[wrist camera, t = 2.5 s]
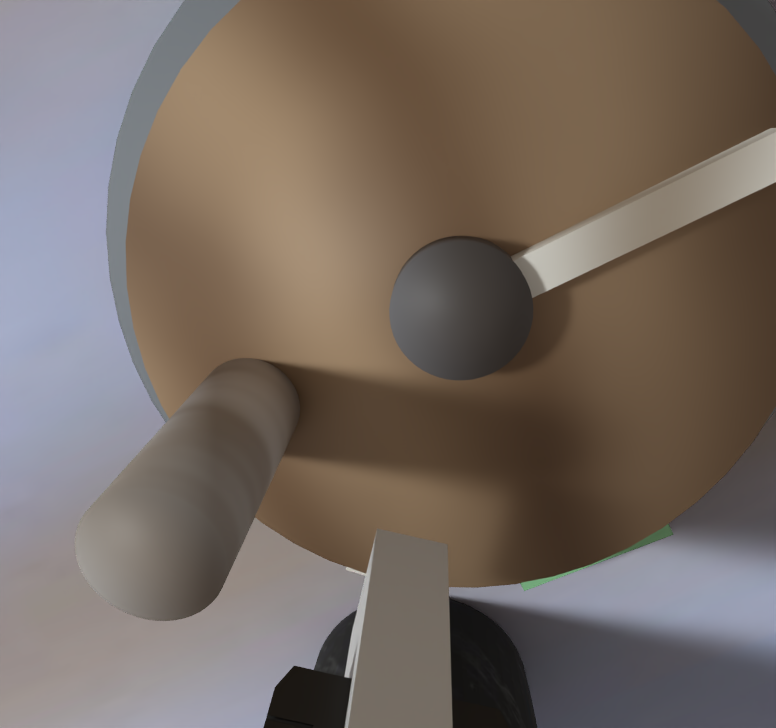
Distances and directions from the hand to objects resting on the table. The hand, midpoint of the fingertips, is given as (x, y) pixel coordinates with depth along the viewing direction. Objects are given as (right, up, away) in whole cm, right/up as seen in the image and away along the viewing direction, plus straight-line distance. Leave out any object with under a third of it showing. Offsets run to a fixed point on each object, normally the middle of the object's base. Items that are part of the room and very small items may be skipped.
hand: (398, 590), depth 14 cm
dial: (+2, +7, +3) cm, 7 cm away
